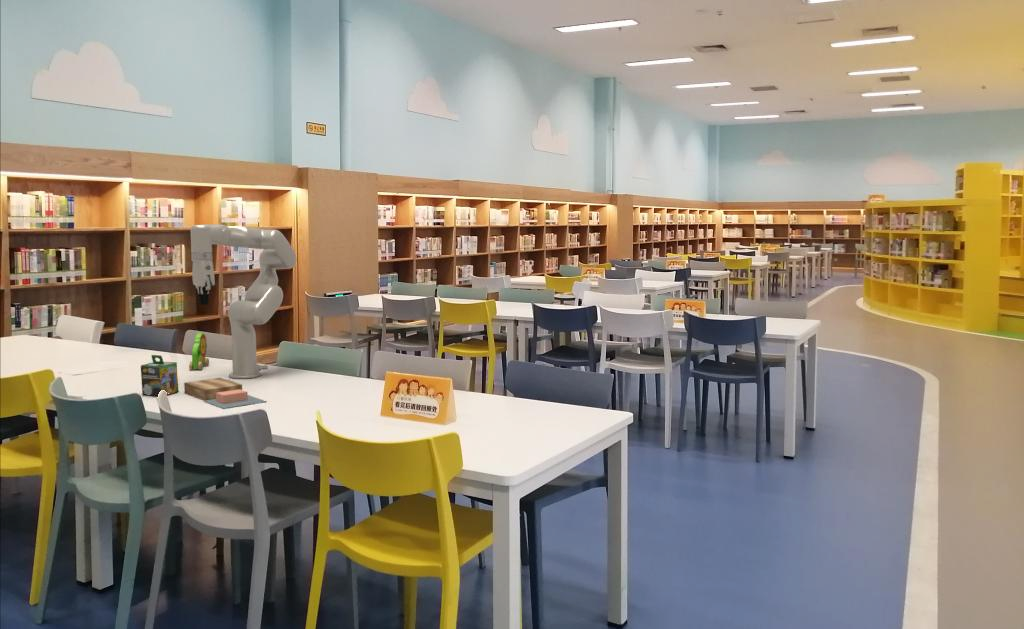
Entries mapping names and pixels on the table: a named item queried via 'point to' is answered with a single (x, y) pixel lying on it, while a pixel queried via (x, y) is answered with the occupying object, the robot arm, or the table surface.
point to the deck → (210, 388)
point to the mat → (234, 404)
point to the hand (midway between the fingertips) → (203, 304)
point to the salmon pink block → (231, 396)
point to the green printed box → (159, 377)
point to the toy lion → (199, 353)
